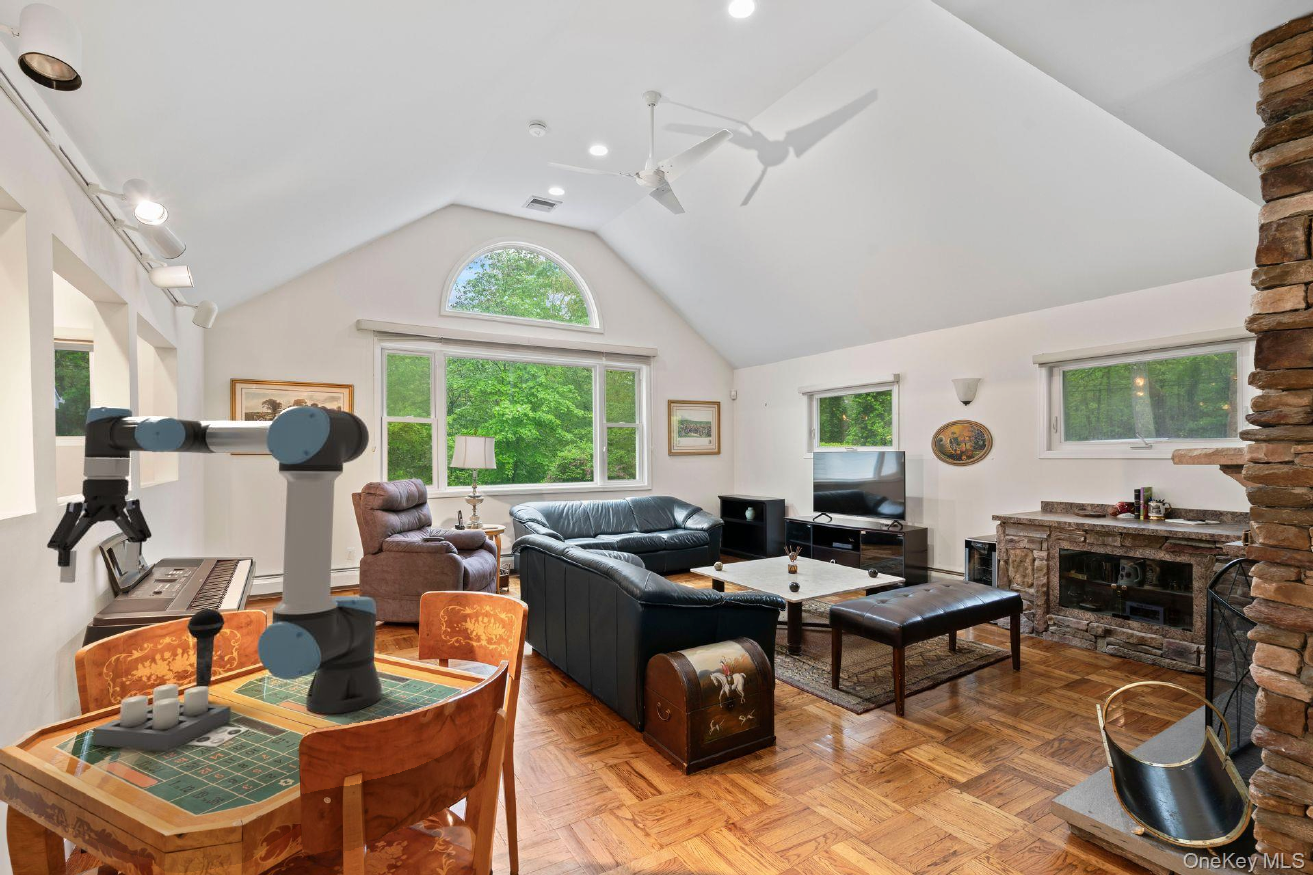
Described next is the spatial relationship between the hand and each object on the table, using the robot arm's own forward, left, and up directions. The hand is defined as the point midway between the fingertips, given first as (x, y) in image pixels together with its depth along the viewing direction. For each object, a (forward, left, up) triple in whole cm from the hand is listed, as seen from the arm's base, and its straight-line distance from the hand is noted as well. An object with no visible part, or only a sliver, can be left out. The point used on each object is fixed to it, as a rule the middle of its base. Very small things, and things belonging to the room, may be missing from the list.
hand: (101, 576), depth 136 cm
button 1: (-22, +11, -25) cm, 35 cm away
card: (-37, +8, -28) cm, 47 cm away
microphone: (-18, -8, -28) cm, 35 cm away
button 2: (-22, +4, -25) cm, 34 cm away
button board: (-25, +8, -28) cm, 38 cm away
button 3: (-29, +11, -25) cm, 40 cm away
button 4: (-29, +4, -25) cm, 38 cm away
